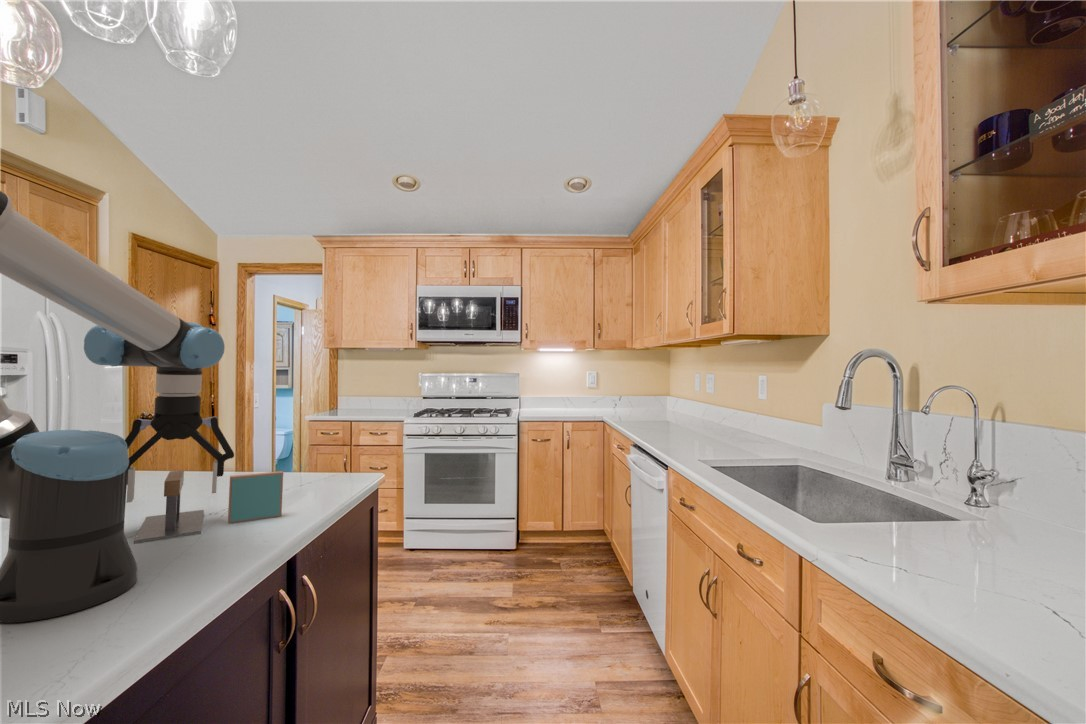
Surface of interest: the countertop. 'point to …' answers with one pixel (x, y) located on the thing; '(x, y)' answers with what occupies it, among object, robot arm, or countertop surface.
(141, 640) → the countertop surface
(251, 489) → the tile
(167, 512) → the trowel
